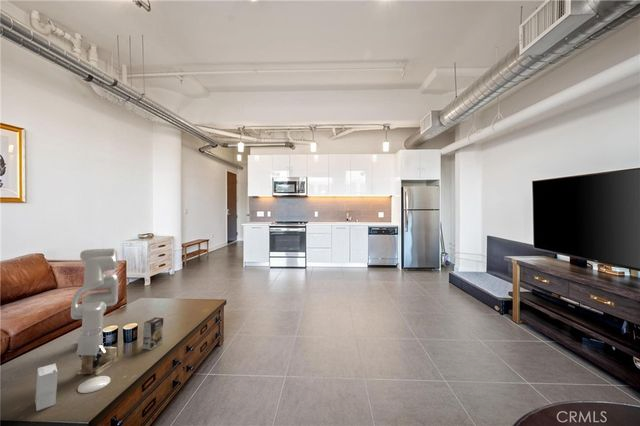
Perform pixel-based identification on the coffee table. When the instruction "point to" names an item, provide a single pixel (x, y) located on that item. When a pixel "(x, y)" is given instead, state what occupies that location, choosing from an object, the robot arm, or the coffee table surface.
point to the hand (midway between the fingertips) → (90, 366)
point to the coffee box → (153, 333)
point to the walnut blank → (88, 365)
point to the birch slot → (106, 359)
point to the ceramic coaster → (94, 384)
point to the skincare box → (46, 386)
